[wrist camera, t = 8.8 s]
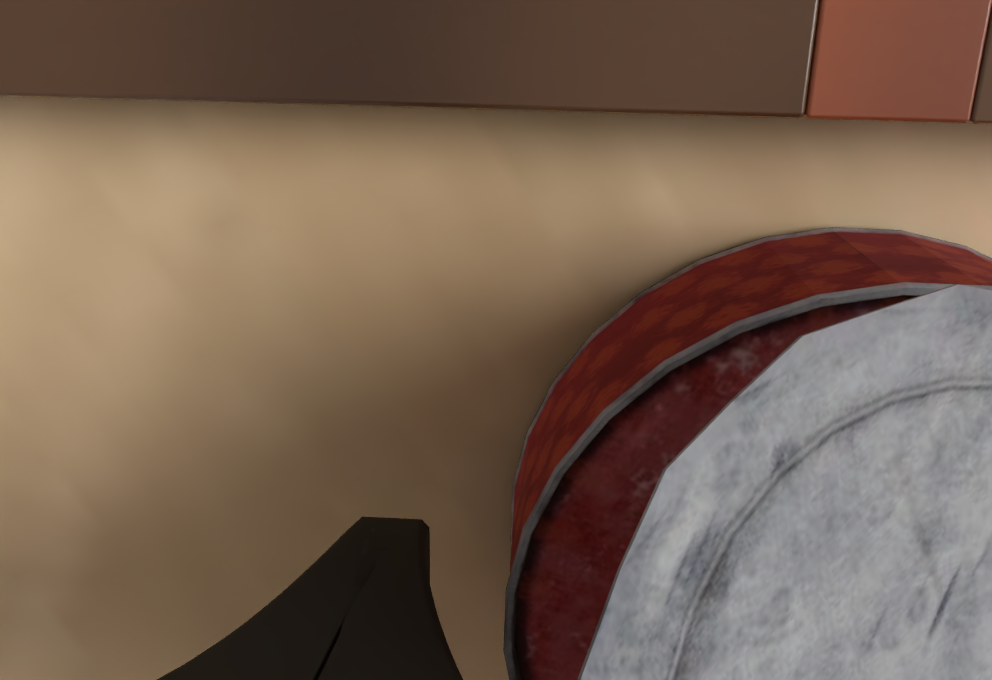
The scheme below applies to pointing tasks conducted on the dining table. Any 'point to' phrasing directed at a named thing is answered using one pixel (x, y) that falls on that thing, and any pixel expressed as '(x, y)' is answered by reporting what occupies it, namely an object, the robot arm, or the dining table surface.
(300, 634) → the robot arm
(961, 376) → the canned food
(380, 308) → the dining table surface
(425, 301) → the dining table surface
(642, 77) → the lane
